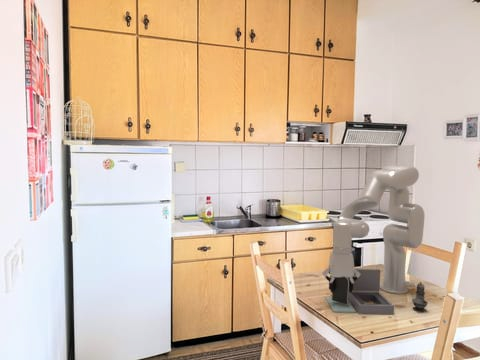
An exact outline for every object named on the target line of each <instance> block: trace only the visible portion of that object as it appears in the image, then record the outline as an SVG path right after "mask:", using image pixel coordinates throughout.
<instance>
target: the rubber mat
mask: <svg viewBox="0 0 480 360" xmlns="http://www.w3.org/2000/svg"><path fill="white" fill-rule="evenodd" d="M325 300H326V302H327V303H328V305H329V307H330V308H331V310H332V312H333V313H346V314H347V313H349V314H352V313H353V314H355V313H356V312H357V310H356V309H355V308H354V306H353V305H352V304H351V303H350V301H349V300H348V303H347V304H344V303H340V302H336V301H333V300H332V297H325Z"/></svg>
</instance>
